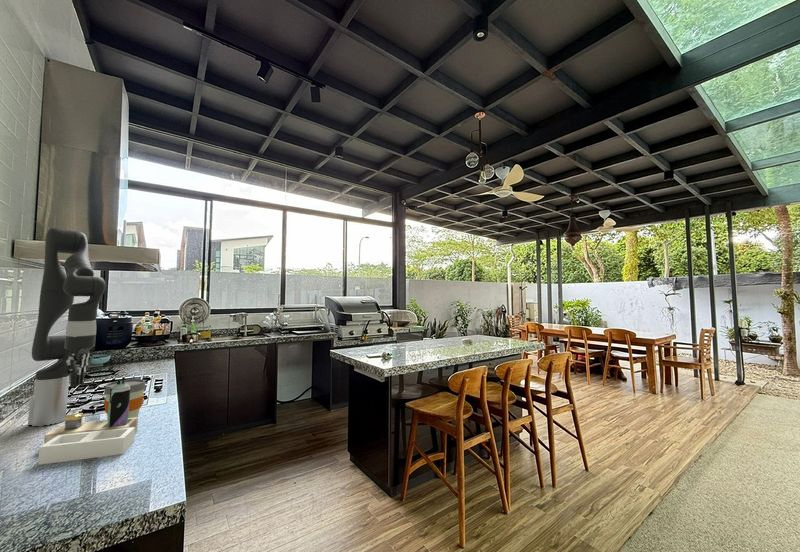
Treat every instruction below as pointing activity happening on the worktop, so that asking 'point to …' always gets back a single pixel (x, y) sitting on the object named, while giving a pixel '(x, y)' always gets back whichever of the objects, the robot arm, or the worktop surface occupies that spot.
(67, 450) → the frame
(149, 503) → the worktop surface
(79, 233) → the robot arm
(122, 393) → the spray can
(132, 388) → the reusable coffee cup
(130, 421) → the socket block
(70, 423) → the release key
